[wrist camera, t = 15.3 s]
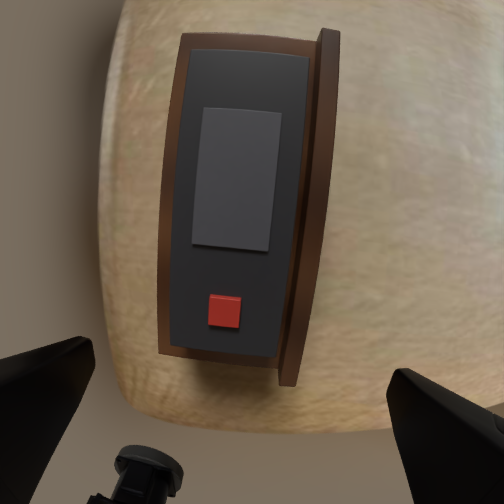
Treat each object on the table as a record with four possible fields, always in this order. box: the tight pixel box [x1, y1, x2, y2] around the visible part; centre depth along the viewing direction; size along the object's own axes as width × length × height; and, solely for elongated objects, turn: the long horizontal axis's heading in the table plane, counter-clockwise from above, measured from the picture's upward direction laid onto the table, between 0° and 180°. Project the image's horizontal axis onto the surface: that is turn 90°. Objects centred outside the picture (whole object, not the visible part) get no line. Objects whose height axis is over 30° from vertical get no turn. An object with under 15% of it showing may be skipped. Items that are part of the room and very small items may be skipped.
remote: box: [169, 49, 310, 358], centre depth 12 cm, size 12×4×2 cm, turn 175°
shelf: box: [157, 28, 340, 387], centre depth 16 cm, size 16×7×8 cm, turn 174°
